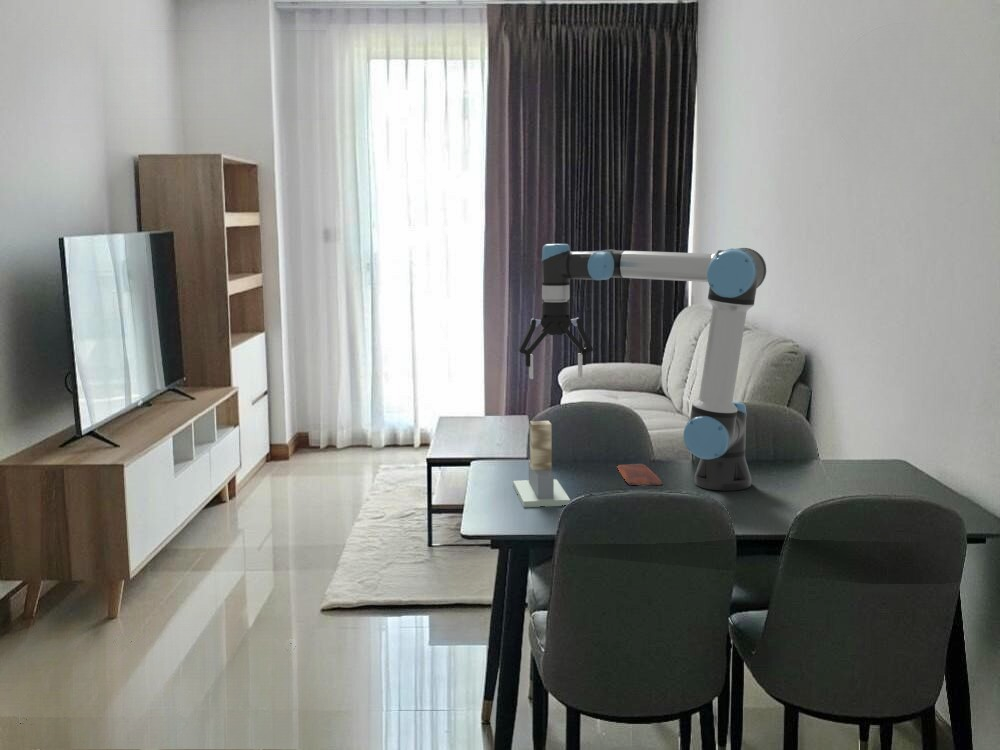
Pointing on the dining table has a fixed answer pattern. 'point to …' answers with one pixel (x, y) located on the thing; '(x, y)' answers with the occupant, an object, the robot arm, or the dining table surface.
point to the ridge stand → (540, 490)
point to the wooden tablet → (638, 474)
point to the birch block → (540, 445)
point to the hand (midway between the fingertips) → (555, 377)
